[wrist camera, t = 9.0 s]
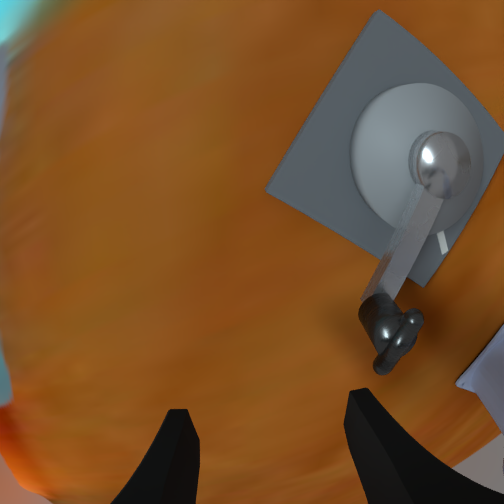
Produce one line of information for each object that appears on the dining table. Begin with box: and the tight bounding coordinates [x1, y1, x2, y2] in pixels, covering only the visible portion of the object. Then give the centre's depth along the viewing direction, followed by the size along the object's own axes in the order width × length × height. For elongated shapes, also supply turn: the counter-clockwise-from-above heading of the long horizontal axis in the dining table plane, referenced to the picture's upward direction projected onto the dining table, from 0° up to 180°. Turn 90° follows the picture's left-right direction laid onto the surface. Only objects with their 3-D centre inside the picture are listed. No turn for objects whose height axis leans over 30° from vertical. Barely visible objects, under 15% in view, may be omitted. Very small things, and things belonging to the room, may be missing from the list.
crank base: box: [265, 10, 504, 288], centre depth 15 cm, size 12×12×2 cm
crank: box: [358, 130, 471, 375], centre depth 13 cm, size 11×3×4 cm, turn 160°
